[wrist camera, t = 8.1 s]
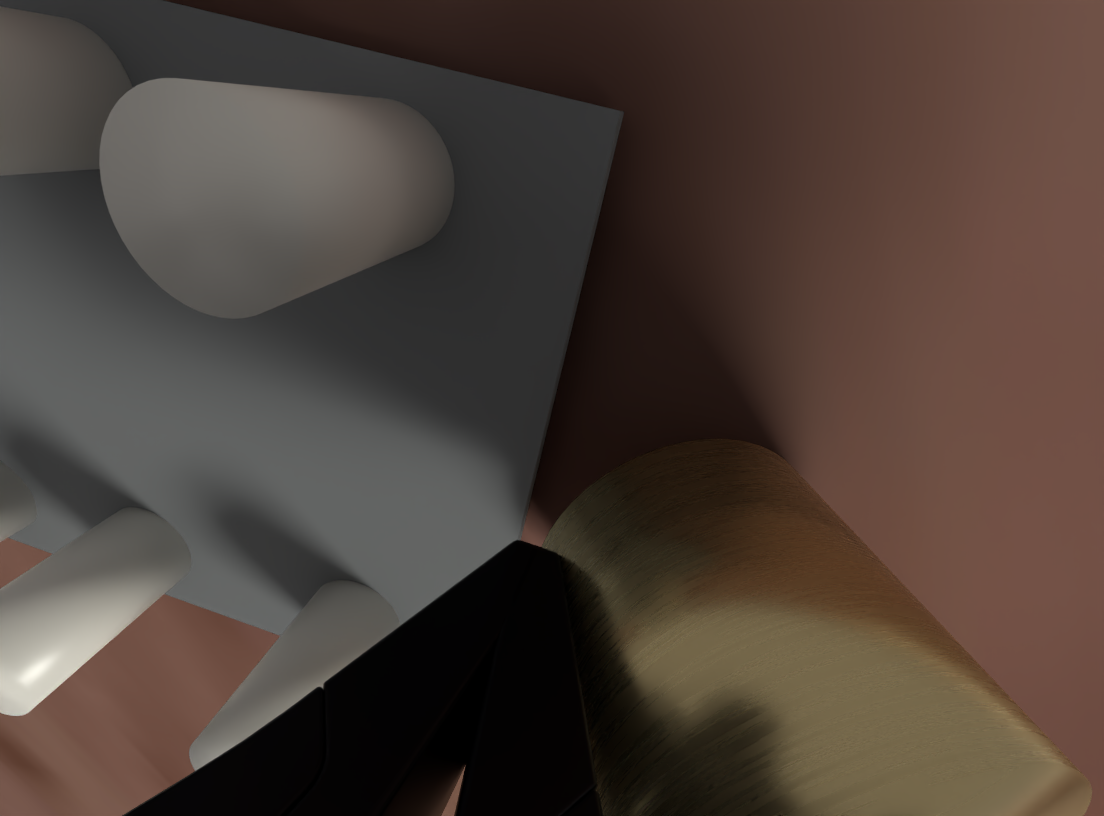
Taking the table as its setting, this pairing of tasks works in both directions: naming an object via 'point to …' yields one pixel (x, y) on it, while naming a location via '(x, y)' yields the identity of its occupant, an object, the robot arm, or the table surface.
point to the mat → (303, 343)
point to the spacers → (202, 309)
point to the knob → (776, 658)
